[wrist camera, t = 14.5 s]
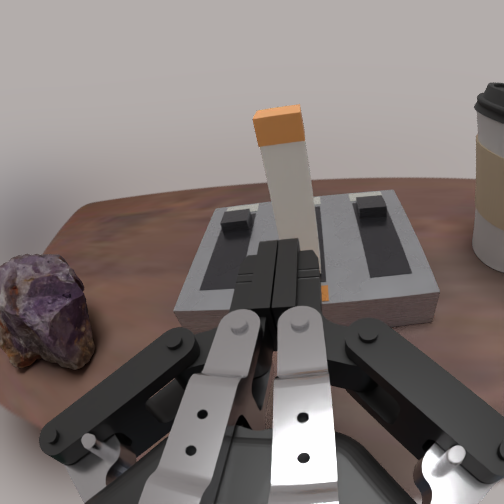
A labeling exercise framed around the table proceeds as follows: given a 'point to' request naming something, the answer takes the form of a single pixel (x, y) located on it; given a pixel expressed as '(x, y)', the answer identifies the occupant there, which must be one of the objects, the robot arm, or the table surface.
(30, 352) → the rock
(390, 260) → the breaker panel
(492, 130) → the coffee cup
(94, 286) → the table surface
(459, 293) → the table surface
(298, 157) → the orange-capped grey post
